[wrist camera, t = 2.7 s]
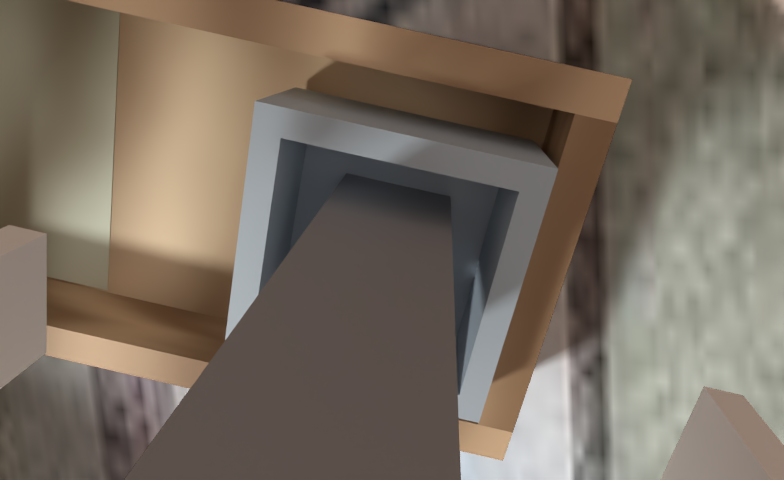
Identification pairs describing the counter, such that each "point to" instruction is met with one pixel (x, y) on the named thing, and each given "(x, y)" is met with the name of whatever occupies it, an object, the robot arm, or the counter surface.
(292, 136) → the grey square-based post
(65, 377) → the counter surface
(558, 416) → the counter surface
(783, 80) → the counter surface
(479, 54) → the bay
